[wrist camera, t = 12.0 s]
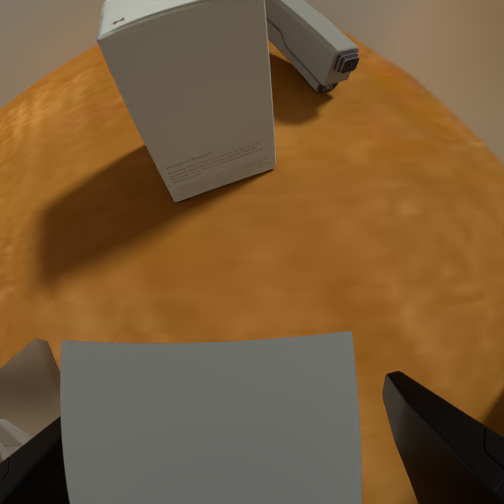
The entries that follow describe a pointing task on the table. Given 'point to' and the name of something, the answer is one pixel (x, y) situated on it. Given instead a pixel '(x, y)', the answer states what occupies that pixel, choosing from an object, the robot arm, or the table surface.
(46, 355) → the ring stand
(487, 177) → the table surface
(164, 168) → the supplement box
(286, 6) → the gun
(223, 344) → the link block
